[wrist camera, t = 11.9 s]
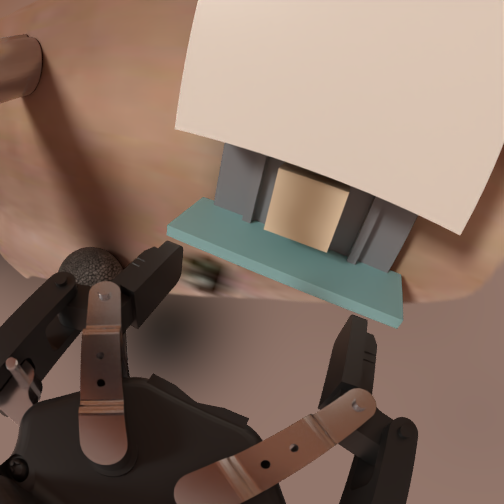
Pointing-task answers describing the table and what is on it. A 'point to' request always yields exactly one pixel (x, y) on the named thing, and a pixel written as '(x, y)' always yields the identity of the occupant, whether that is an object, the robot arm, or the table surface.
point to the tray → (297, 254)
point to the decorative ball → (91, 266)
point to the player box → (357, 92)
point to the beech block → (306, 206)
